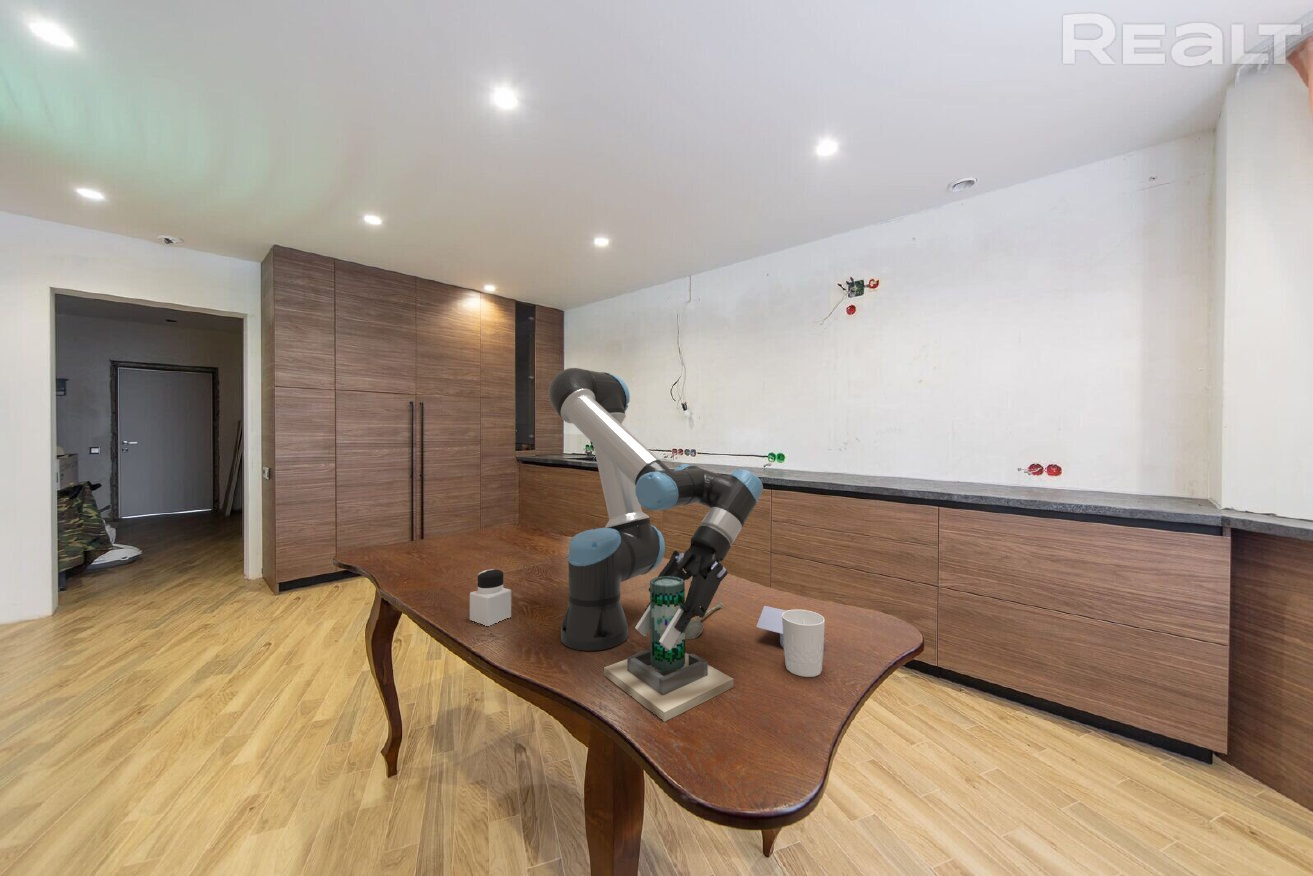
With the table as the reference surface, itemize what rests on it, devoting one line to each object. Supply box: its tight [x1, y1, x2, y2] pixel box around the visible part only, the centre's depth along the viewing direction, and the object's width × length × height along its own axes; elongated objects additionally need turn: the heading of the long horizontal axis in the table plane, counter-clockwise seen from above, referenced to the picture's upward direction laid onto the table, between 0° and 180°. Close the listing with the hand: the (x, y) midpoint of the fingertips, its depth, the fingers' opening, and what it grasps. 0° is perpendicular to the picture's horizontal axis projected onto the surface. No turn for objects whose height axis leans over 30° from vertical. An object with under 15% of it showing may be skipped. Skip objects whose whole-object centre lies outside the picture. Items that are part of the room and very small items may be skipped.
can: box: [649, 576, 686, 672], centre depth 83 cm, size 6×6×15 cm
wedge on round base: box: [756, 605, 825, 651], centre depth 98 cm, size 9×7×13 cm
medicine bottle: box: [469, 568, 512, 627], centre depth 112 cm, size 7×7×12 cm
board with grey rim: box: [603, 648, 734, 723], centre depth 82 cm, size 18×16×4 cm
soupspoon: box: [685, 602, 724, 640], centre depth 110 cm, size 22×3×7 cm
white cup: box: [782, 608, 826, 678], centre depth 87 cm, size 8×8×10 cm
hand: (652, 638), depth 80 cm, fingers closed on can, 6 cm apart
